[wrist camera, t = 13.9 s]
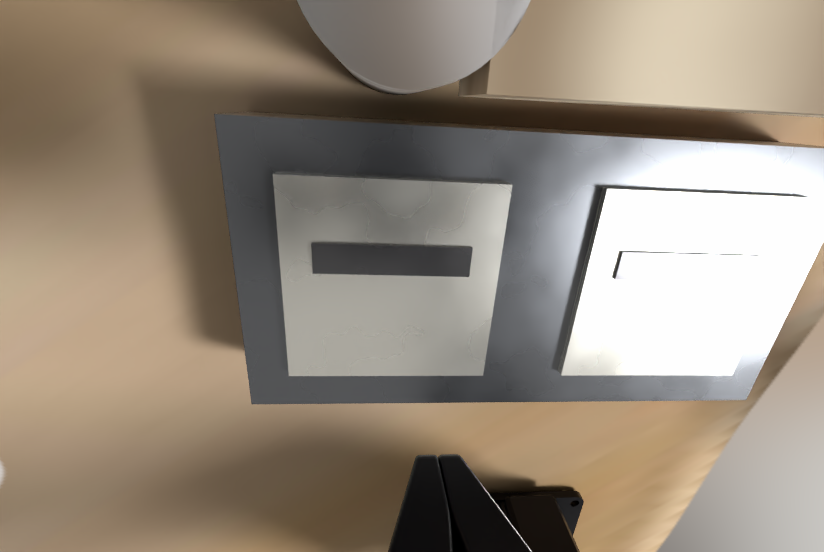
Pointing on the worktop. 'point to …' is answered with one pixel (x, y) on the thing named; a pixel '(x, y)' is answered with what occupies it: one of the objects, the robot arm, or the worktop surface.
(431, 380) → the slab
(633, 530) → the worktop surface
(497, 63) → the notched beige block
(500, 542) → the robot arm
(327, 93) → the worktop surface
